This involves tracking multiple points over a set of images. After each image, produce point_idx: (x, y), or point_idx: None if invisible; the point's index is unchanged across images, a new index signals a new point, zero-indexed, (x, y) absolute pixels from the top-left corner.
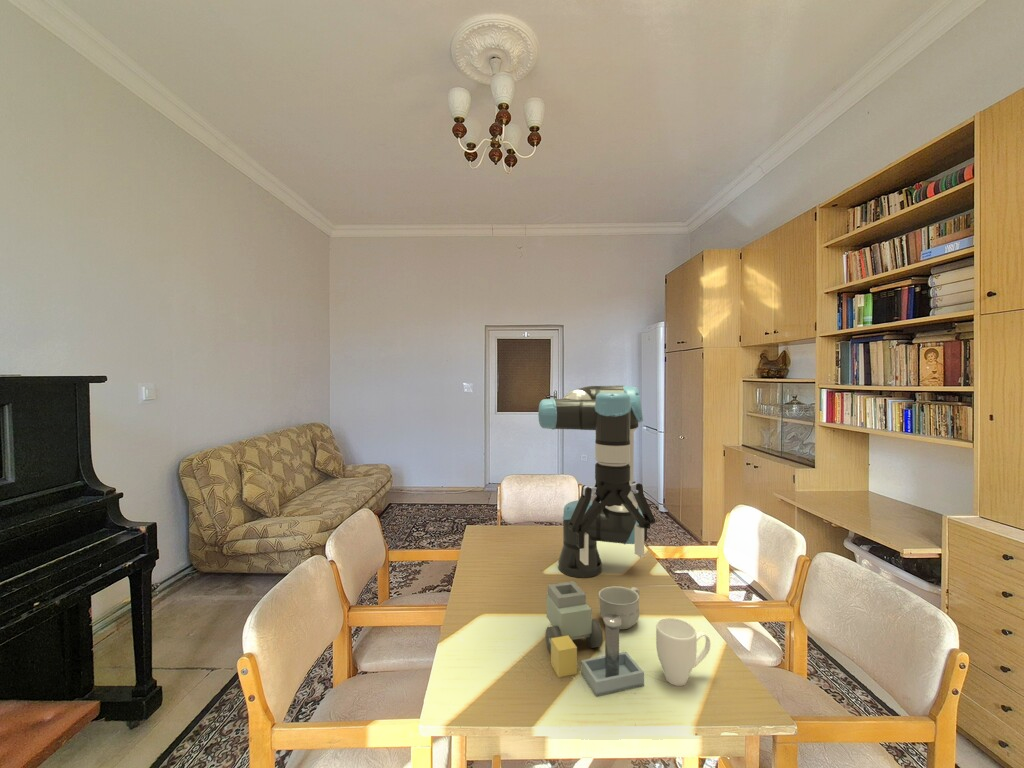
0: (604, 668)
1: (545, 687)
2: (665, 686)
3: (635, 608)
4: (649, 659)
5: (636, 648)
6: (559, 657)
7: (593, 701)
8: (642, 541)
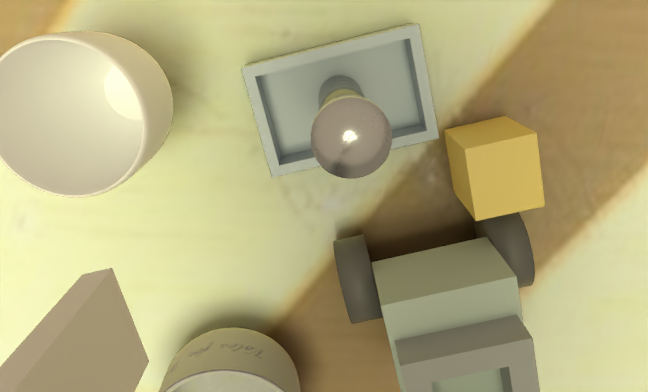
0: None
1: (557, 71)
2: (178, 59)
3: (178, 370)
4: (191, 186)
5: (217, 241)
6: (524, 128)
7: (425, 3)
8: (25, 360)
